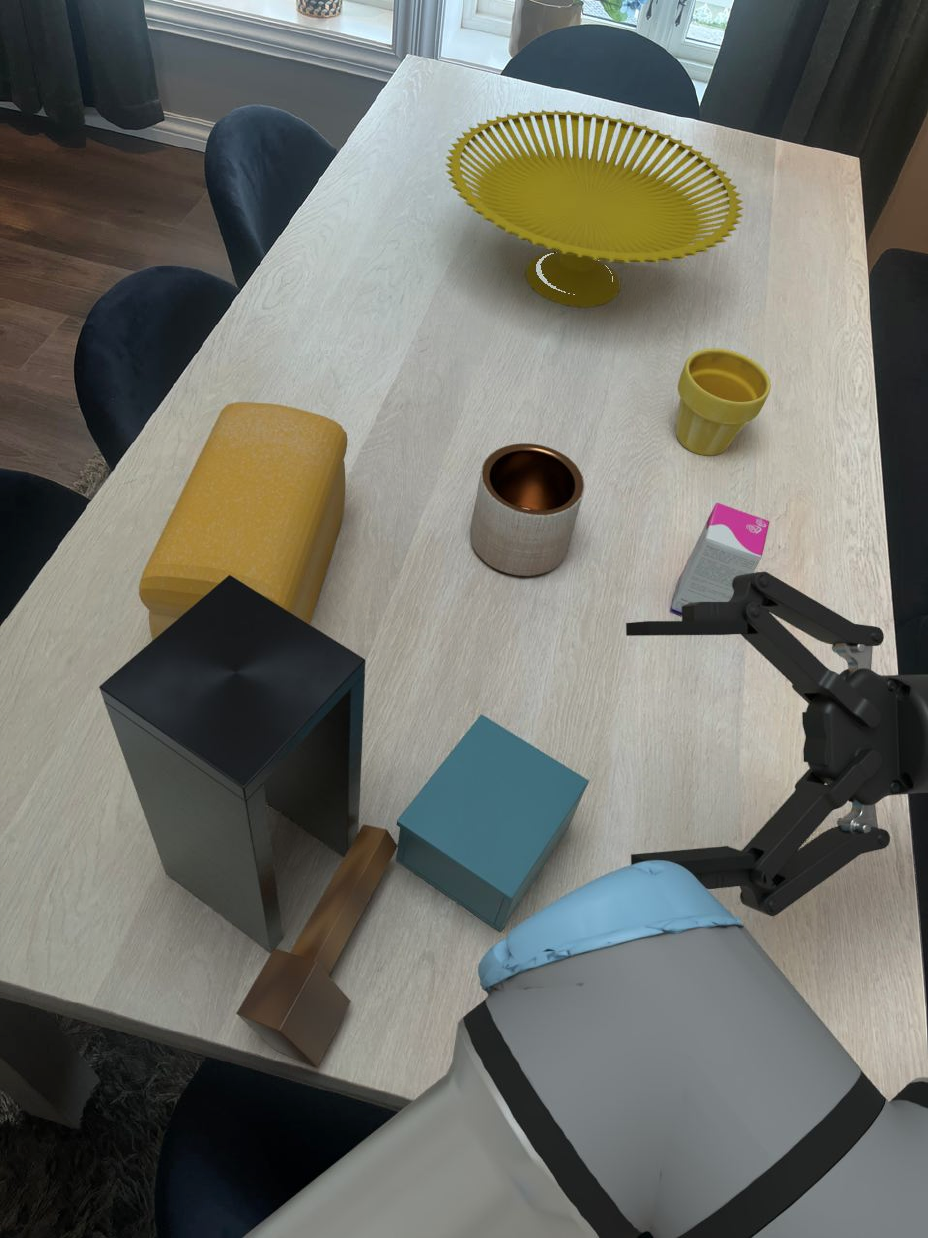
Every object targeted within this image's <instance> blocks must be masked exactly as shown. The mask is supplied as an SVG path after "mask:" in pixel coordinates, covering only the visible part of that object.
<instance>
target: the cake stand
mask: <svg viewBox="0 0 928 1238" xmlns="http://www.w3.org/2000/svg"><path fill="white" fill-rule="evenodd" d="M555 115H556V116H557V118H558V121H559V127H560V133H561V141H562V150H563V153H562V150H561V147H560V144H559V139H558V133H557V127H556V119H555V118H556V117H555ZM543 116H545V117H546V121H547V124H548V128H549V132H550V137H551V141H552V147H553V150H552V147H551V145H550V143H549V139H548V136H547V132H546V128H545V123H544V117H543ZM568 116H570V124H571V134H572V136H571V137H572V155H571V150H570V145H569V137H568V135H569V134H568V118H567V117H568ZM532 117H533V118H534V120H535V123H536V125H537V128H538V131H539V134H540V137H541V140H542V144H543V147H544V149H543V147H542V146H541V144H540V141H539V138H538V137H537V134H536V130H535V128H534V125H533V121H532ZM580 117H582V119H583V120H582V121H583V122H582V123H583V124H582V125H583V131H582V132H583V133H582V134H583V135H582V136H583V137H582V138H583V140H582V149H581V150H582V151H581V155H580V147H579V126H580ZM495 118H496V119H493V120H491V119H485V120H486V122H485V123H479V122H477V123H476V124H477V126H478V127H468V128H469V130H470V131H469V132H464V131H461V134H462V135H463V136H464V137H455V139H456V141H457V142H458V143H457V142H456V143H452V142H451V143H450V144H451V146H452V147H453V148H454V149H447V151H448V153H450V154H451V155H449V156H445V158H446V159H447V160H448V161H449V162H448V163H445V166H446V167H448V169H449V170H445V172H446V174H448V175H450V176H451V177H450V178H448V181H450V182H451V183H453V184H454V185H453V186H451V188H452V189H454V190H456V191H457V192H459V193H458V194H457V196H458V197H460V198H462V199H463V200H465V201H464V202H463V203H464V204H465V205H467V206H469V207H471V208H473V209H472V212H475V213H477V214H479V215H480V216H482V217H481V219H483V220H485V221H488V222H491V223H492V226H494V227H496V228H498V229H502V230H504V233H507V234H510V235H513V236H515V237H517V238H518V239H520V240H523V241H526V242H529V243H531V245H534V246H538V247H543V248H546V249H547V250H551V251H549V252H546V253H542V254H539V255H537V256H535V257H534V258H532V259H530V261H529V262H528V264H527V266H526V269H525V277H526V280H527V283H528V284H529V285H530V287H531V288H532V289H533V290H534V291H535V292H536V293H538V294H539V295H541V296H542V297H544V298H545V299H548V300H550V301H552V302H555V303H558V304H560V305H565V306H569V307H570V306H571V307H577V308H578V307H579V308H592V307H599V306H602V305H604V304H605V305H606V304H607V303H609V302H611V301H613V300H614V299H615V298H616V297H617V296H618V294H619V292H620V289H621V280H620V278H619V275H618V274H617V273H616V271H615V270H614V269H612V267H610V266H609V265H608V264H606V263H605V262H609V263H611V262H612V263H614V262H615V263H616V262H617V263H622V264H629V263H637V264H644V263H657V264H658V263H659V261H661V262H672V261H673V260H685V259H687V258H686V256H689V257H690V256H698V254H697V253H707V252H709V250H708V249H709V248H717V247H718V245H717V244H719V243H724V242H726V239H724V238H727V237H732V236H733V234H731V233H730V232H733V231H737V230H738V228H737V227H735V225H738V224H739V225H740V224H741V223H742V221H740V220H738V218H742V217H744V215H743V214H741V213H739V212H740V211H742V210H744V207H742V206H740V205H739V204H741V203H743V202H744V200H741V199H739V198H738V196H740V195H741V193H740V192H737V191H735V189H737V188H738V185H734V184H732V183H730V182H731V181H733V179H732V178H729V177H727V176H725V175H726V174H727V171H724V170H720V169H718V168H719V167H720V164H715V163H713V162H711V160H712V157H705V156H703V155H702V154H703V151H697V150H695V149H693V147H694V146H693V145H689V144H685V143H683V139H675V138H673V137H672V135H671V134H664V133H661V132H660V129H656V130H655V129H651V128H649V127H648V124H647V125H639V124H637V123H636V124H635V121H630V122H628V121H625V120H623V119H622V118H621V117H620V118H612V117H610V116H609V115H608V114H607V115H606V116H601V115H598V114H597V113H595V112H594V113H592V114H587V113H584V112H583V111H580V112H573V111H570V110H569V109H568V110H567V111H566V112H563V111H558V110H557V109H554V111H546V110H544V109H542V110H541V111H540V112H535V111H532V110H529V112H527V113H525V112H521V111H517V114H509V113H506V116H503V117H501V116H498V115H496V116H495ZM520 118H522V119H523V122H524V124H525V127H526V129H527V131H528V132H529V135H530V138H531V140H532V143H533V145H534V148H535V150H534V148H533V146H532V145H531V143H530V141H529V139H528V137H527V135H526V132H525V130H524V127H523V125H522V123H521V120H520ZM593 118H594V119H595V128H594V136H593V137H594V138H593V143H592V144H593V145H592V150H591V154H590V157H589V148H590V147H589V146H590V145H589V144H590V135H591V128H592V127H591V126H592V121H593V120H592V119H593ZM510 120H511V121H512V122H513V125H514V126H515V128H516V131H518V134H519V136H520V137H521V139H522V141H523V145H524V146H525V148H526V150H527V151H526V150H525V149H524V147H523V145H522V143H521V142H520V141H519V139H518V137H517V135H516V133H515V131H514V129H513V127H512V125H511V122H510ZM605 121H608V123H607V130H606V135H605V139H604V143H603V147H602V151H601V154H600V157H599V149H600V144H601V143H600V142H601V138H602V133H603V128H604V125H605ZM500 123H501V125H503V127H504V129H505V131H506V132H507V134H508V135H509V137H510V138H511V140H512V142H513V144H514V146H515V147H516V149H517V150H516V149H515V147H514V146H513V145H512V143H511V141H510V140H509V138H508V137H507V135H506V133H505V132H504V130H503V129H502V127H501V125H500ZM618 123H620V127H619V132H618V135H617V138H616V142H615V144H614V147H613V150H612V153H611V155H610V158H609V159H608V155H609V151H610V147H611V143H612V140H613V137H614V133H615V131H616V127H617V125H618ZM491 127H493V128H494V130H495V131H496V133H497V134H498V135H499V137H500V138H501V140H502V142H503V143H504V144H505V146H506V147H507V149H508V150H507V149H506V148H505V147H504V145H503V144H502V143H501V142H500V140H499V139H498V137H497V136H496V135H495V133H494V131H493V130H492V128H491ZM630 127H632V131H631V133H630V137H629V139H628V141H627V144H626V146H625V148H624V150H623V152H622V155H620V156H621V157H620V159H619V160H618V162H617V159H618V156H619V153H620V150H621V147H622V145H623V142H624V140H625V137H626V135H627V133H628V131H629V129H630ZM483 131H484V132H485V133H486V135H487V136H489V138H490V139H491V140H492V142H493V143H494V144H495V146H496V147H497V148H498V149H499V151H500V152H499V151H498V150H497V148H495V147H494V146H493V144H492V143H491V142H490V140H489V139H488V137H486V135H485V134H484V132H483ZM642 131H645V132H644V133H643V135H642V138H641V140H640V142H639V144H638V146H637V148H636V149H635V152H634V153H633V155H632V157H631V158H630V160H629V161H628V160H627V159H628V157H629V155H630V154H631V151H632V149H633V147H634V145H635V143H636V141H637V139H638V137H639V136H640V134H641V133H642ZM476 135H477V136H478V137H479V138H480V139H481V140H482V142H483V144H485V145H486V147H488V148H489V150H490V151H491V152H492V153H490V151H488V150H487V149H486V147H484V146H483V144H482V143H481V142H480V141H479V139H478V138H477V137H476ZM654 135H656V137H655V138H654V141H653V142H652V144H651V146H649V149H648V150H647V152H646V153H645V155H644V156H643V157H642V159H641V160H640V162H639V163H638V164H637V166H635V164H636V163H637V161H638V160H639V157H640V156H641V154H642V152H643V151H644V149H645V148H646V146H647V145H648V143H649V141H650V140H651V139H652V137H653V136H654ZM666 139H667V140H668V141H667V142H666V143H665V145H664V146H663V148H662V149H661V151H660V152H659V153H658V154H657V156H655V158H654V159H653V161H651V163H650V164H649V165H648V166H647V167H646V168H645V166H646V165H647V163H648V161H649V160H650V159H651V158H652V156H653V155H654V153H655V152H656V151H657V149H658V148H659V147H660V146H661V145H662V143H663V142H664V141H665V140H666ZM470 141H471V142H472V143H473V144H474V145H475V146H476V147H477V148H478V149H479V150H480V151H481V152H482V153H483V154H484V155H485V156H484V155H482V154H481V152H479V151H478V150H477V149H476V147H475V146H474V145H473V144H472V143H471V142H470ZM676 145H678V146H677V147H676V149H675V150H674V151H673V153H672V154H671V155H670V156H669V157H668V158H667V159H666V161H664V163H662V165H661V166H660V167H658V168H657V169H656V170H655V171H654V172H652V171H653V170H654V169H655V168H656V166H657V165H658V164H659V163H660V162H661V160H663V158H664V157H665V156H667V154H668V153H669V152H670V151H671V150H672V149H673V148H674V147H675V146H676ZM466 147H467V148H468V149H469V150H470V151H472V152H473V153H474V155H476V156H477V157H478V158H479V159H480V160H478V159H477V158H476V157H475V156H474V155H473V154H472V153H471V152H469V151H468V149H467V148H466ZM508 151H509V152H508ZM685 151H688V152H687V153H686V154H685V155H684V156H683V157H682V158H681V159H679V161H678V162H677V163H676V164H675V165H674V166H673V167H672V168H671V169H670V170H668V171H666V173H664V174H662V173H663V172H664V171H665V170H666V169H667V168H668V167H669V166H670V165H671V164H672V163H673V162H675V160H677V158H679V157H680V156H681V155H682V154H683V153H684V152H685ZM510 153H511V154H510ZM463 154H464V155H465V156H466V157H468V158H469V159H470V160H471V161H472V162H473V163H474V164H473V163H472V162H471V161H470V160H469V159H467V158H466V157H465V156H464V155H463ZM492 154H493V155H494V156H493V155H492ZM580 156H581V157H580ZM695 156H696V157H697V158H696V159H694V160H693V161H692V162H691V163H690V164H689V165H688V166H686V167H685V168H684V169H683V170H682V171H681V172H679V173H678V174H677V175H675V176H673V175H674V174H675V173H676V172H677V171H678V170H679V169H680V168H681V167H683V166H684V165H685V164H687V163H688V162H689V161H690V160H692V159H693V158H695ZM598 157H599V158H598ZM487 158H488V159H487ZM598 159H599V160H598ZM461 160H462V162H461ZM481 161H482V162H481ZM626 161H628V163H627V162H626ZM463 162H464V163H465V164H466V165H465V164H464V163H463ZM616 162H617V164H616ZM626 163H627V164H626ZM703 163H705V164H704V165H703V166H702V167H701V168H700V169H698V170H697V171H695V172H694V173H693V174H691V175H690V176H688V177H687V178H685V179H683V180H681V179H682V178H683V177H685V176H686V175H688V174H689V173H690V172H691V171H693V170H694V169H696V168H697V167H699V166H700V165H701V164H703ZM475 164H476V165H475ZM467 165H468V166H469V167H471V168H472V169H473V170H474V171H473V170H472V169H470V168H469V167H468V166H467ZM634 166H635V168H634ZM461 168H462V169H463V170H462V169H461ZM644 168H645V169H644ZM643 169H644V170H643ZM464 170H465V171H464ZM710 170H712V171H711V172H709V173H708V174H706V175H705V176H704V177H702V178H700V179H698V180H697V181H695V182H694V183H692V184H689V183H690V182H692V181H694V180H695V179H696V178H698V177H700V176H702V174H704V173H706V172H708V171H710ZM468 173H469V174H468ZM659 176H660V177H659ZM671 176H673V177H672V178H670V177H671ZM717 176H718V178H716V177H717ZM464 177H465V178H464ZM669 178H670V179H669ZM714 178H716V179H715V180H714V181H712V182H709V183H708V184H707V185H705V186H703V187H701V188H699V189H697V190H694V191H692V190H693V189H695V188H697V187H699V186H701V185H702V184H704V183H706V182H708V181H710V180H712V179H714ZM469 180H470V181H469ZM679 180H681V181H680V182H678V181H679ZM677 182H678V183H677ZM722 183H723V185H721V186H718V185H720V184H722ZM687 184H689V185H687ZM686 185H687V186H686ZM716 186H718V187H717V188H715V189H714V190H711V191H708V190H710V189H712V188H714V187H716ZM683 187H684V188H683ZM690 191H691V192H690ZM705 191H708V192H707V193H705V194H702V193H704V192H705ZM724 191H726V192H725V193H723V194H721V195H719V196H716V197H714V198H711V199H709V200H706V201H704V200H705V199H707V198H710V197H712V196H714V195H717V194H719V193H722V192H724ZM700 194H702V195H700ZM697 195H700V196H697ZM727 198H729V199H727ZM724 199H726V200H725V201H722V202H719V203H716V202H718V201H721V200H724ZM713 203H716V204H714V205H711V206H708V205H710V204H713ZM728 205H729V206H728ZM706 206H707V207H706ZM725 206H728V207H725ZM722 207H725V208H723V209H720V210H716V211H713V210H715V209H719V208H722ZM710 211H713V212H710ZM724 213H727V214H724ZM720 214H723V215H720ZM717 215H720V216H717ZM713 216H717V217H713ZM710 217H711V218H710ZM721 220H724V221H721ZM716 221H721V222H716ZM713 222H715V223H713ZM708 223H710V224H708ZM715 227H716V228H715ZM710 228H711V229H710ZM710 233H712V234H710ZM554 252H557V253H554ZM550 253H554V254H551V255H549V256H547V257H546V258H544V260H543V261H542V263H541V264H540V265H541V270H542V274H544V275H543V276H544V277H545V278H546V279H547V281H548V283H551V285H553V286H556V288H557V289H560V290H562V291H565V292H566V293H564V292H561V291H558V290H556V289H553V288H551V287H550V286H548V285H547V284H545V283H544V282H543V281H542V280H541V279H540V278H539V276H538V275H537V272H536V264H537V262H538V261H539V259H541V258H542V257H543V256H545V255H547V254H550ZM598 260H599V261H598ZM604 261H605V262H604ZM605 265H606V266H607V267H608V268H609V269H608V268H607V267H606V266H605ZM609 270H610V271H611V273H612V274H611V273H610V271H609ZM612 276H613V282H612ZM568 293H570V294H568ZM573 294H575V295H573Z"/></svg>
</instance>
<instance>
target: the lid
mask: <svg viewBox="0 0 928 1238" xmlns="http://www.w3.org/2000/svg"><path fill="white" fill-rule="evenodd" d="M589 782H590V780H589V779H587V778H586V777H584V776H582V775H581V774H579V773H578V772H576V771H574V770H573V769H571V768H570V767H568V766H566V765H565V764H563V763H562V762H560V761H558V760H556V759H554V757H551V756H550V755H548V754H547V753H545V752H544V751H542V750H540V749H539V748H538V747H536V746H534V745H532V744H531V743H529V742H528V741H526V740H525V739H523V738H521V737H519V736H517V735H516V734H515V733H513V732H512V731H510V730H508V729H506V728H505V727H503V726H502V725H500V724H498V723H497V722H495V721H493V720H492V719H491V718H488V716H485V715H483V714H482V713H481V714H480V715H479V716H478V718H477V719H476V720H475V721H474V722H473V724H472V725H471V726H470V727H469V729H468V730H467V732H466V733H465V734H464V735H463V737H462V738H461V739H460V740H459V741H458V742H457V744H456V745H455V747H453V749H451V752H449V754H448V755H447V756H446V757H445V759H444V760H443V762H442V763H441V764H440V766H438V768H437V769H436V770H435V772H434V773H433V774H432V775H431V777H430V778H429V779H428V780H427V782H426V783H425V784H424V785H423V787H422V788H421V790H420V791H419V792H418V793H417V794H416V796H415V797H414V798H413V800H412V801H411V802H410V803H409V804H408V806H407V807H406V808H405V810H404V811H403V812H402V813H401V815H400V816H399V817H398V819H397V820H396V823H395V824H396V826H397V827H399V829H400V828H401V829H403V830H404V831H406V832H407V833H409V834H410V835H412V836H413V837H415V838H416V839H418V840H419V841H421V842H422V843H424V844H425V845H426V846H428V847H429V848H431V849H432V850H434V851H435V852H437V853H438V854H440V855H441V856H443V857H444V858H446V859H447V860H449V861H450V862H452V863H453V864H455V865H456V866H458V867H459V868H460V869H462V870H463V871H465V872H466V873H468V874H469V875H471V876H472V877H474V878H475V879H477V880H478V881H480V882H481V883H483V884H484V885H486V886H487V887H489V888H490V889H491V890H493V891H494V892H496V893H497V894H499V895H500V896H502V897H503V898H505V899H506V900H508V901H509V902H511V901H512V899H513V898H514V896H515V895H516V893H517V892H518V890H519V889H520V887H521V885H522V884H523V882H524V881H525V879H526V878H527V876H528V875H529V873H530V872H531V870H532V869H533V867H534V866H535V864H536V863H537V861H538V860H539V858H540V857H541V855H542V853H543V852H544V850H545V849H546V847H547V846H548V844H549V843H550V841H551V840H552V838H553V837H554V835H555V834H556V832H557V831H558V829H559V828H560V826H561V825H562V823H563V821H564V820H565V818H566V817H567V815H568V814H569V812H570V811H571V809H572V808H573V806H574V805H575V803H576V802H577V800H578V799H579V797H580V796H581V794H582V792H583V791H584V789H585V788H586V789H587V787H588V784H589ZM586 786H587V787H586ZM586 789H585V790H586ZM584 792H585V791H584Z"/></svg>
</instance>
